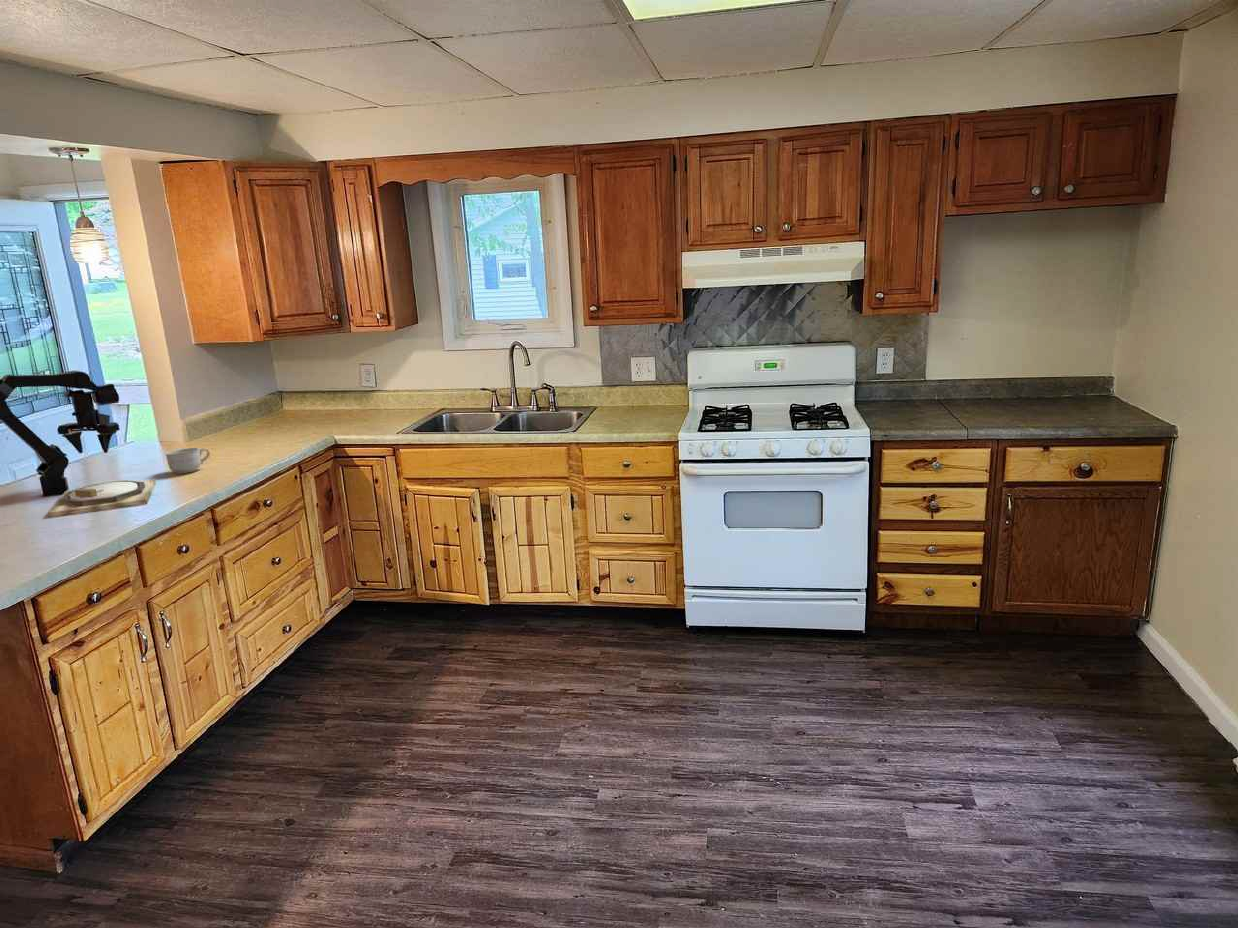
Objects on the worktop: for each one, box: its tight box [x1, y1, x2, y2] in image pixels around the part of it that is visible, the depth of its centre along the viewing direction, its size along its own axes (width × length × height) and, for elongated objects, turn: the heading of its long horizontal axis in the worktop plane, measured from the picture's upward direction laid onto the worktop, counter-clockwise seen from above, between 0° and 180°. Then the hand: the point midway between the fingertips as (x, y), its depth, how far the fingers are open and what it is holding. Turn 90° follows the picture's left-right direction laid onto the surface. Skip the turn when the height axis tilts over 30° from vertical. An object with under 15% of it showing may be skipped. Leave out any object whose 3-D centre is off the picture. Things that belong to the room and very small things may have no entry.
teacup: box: [165, 447, 211, 474], centre depth 289 cm, size 14×11×8 cm
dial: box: [69, 481, 138, 500], centre depth 257 cm, size 19×19×4 cm
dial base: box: [47, 479, 157, 518], centre depth 257 cm, size 26×26×3 cm
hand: (93, 452), depth 274 cm, fingers open, 9 cm apart
